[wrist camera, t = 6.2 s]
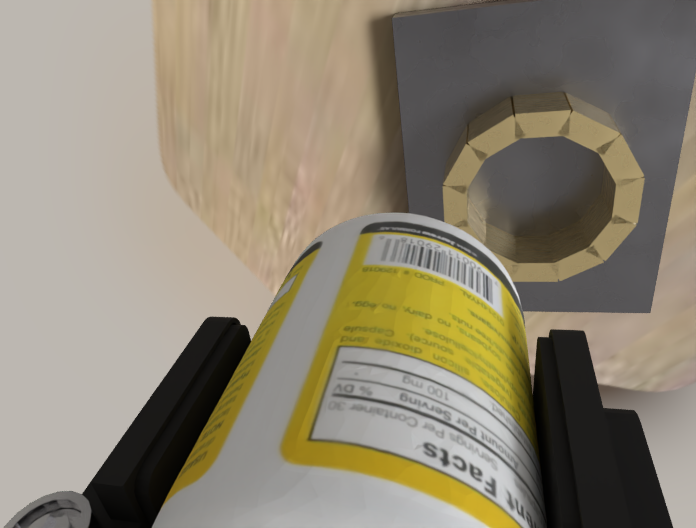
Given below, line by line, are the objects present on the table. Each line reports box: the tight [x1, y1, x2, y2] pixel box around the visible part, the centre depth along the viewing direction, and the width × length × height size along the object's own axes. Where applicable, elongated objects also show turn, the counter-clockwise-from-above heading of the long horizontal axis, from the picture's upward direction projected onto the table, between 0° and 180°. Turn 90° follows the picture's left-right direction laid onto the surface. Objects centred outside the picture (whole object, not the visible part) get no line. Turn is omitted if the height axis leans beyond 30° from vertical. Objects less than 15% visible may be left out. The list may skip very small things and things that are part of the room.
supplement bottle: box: [152, 213, 547, 528], centre depth 9 cm, size 5×5×10 cm
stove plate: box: [392, 0, 696, 313], centre depth 29 cm, size 18×14×4 cm
